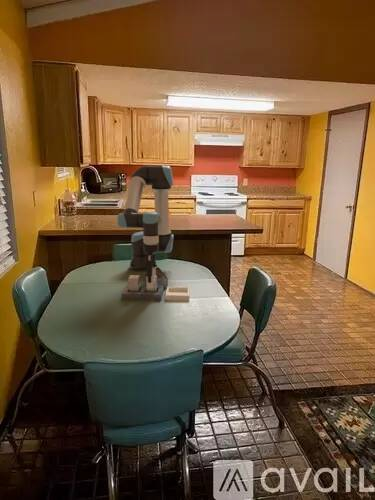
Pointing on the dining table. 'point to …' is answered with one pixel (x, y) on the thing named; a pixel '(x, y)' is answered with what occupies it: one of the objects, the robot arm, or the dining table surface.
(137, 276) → the beige rectangular block
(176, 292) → the tray
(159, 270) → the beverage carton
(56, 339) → the dining table surface
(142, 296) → the rack
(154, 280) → the tan rectangular block
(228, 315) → the dining table surface
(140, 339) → the dining table surface
